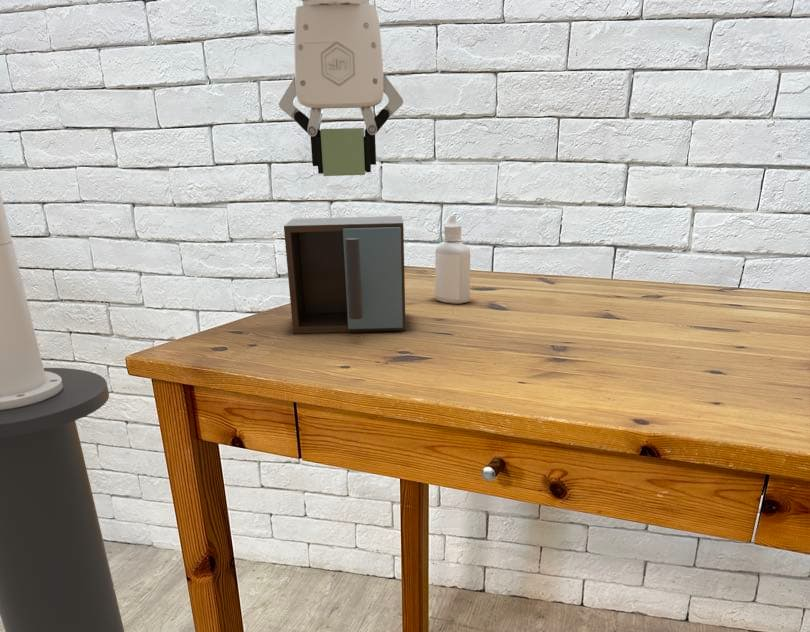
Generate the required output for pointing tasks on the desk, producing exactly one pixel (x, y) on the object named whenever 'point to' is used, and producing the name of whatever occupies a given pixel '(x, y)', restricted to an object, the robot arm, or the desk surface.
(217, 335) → the desk surface
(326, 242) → the closet
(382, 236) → the closet door
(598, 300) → the desk surface
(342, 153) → the block
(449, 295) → the eye dropper bottle
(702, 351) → the desk surface
